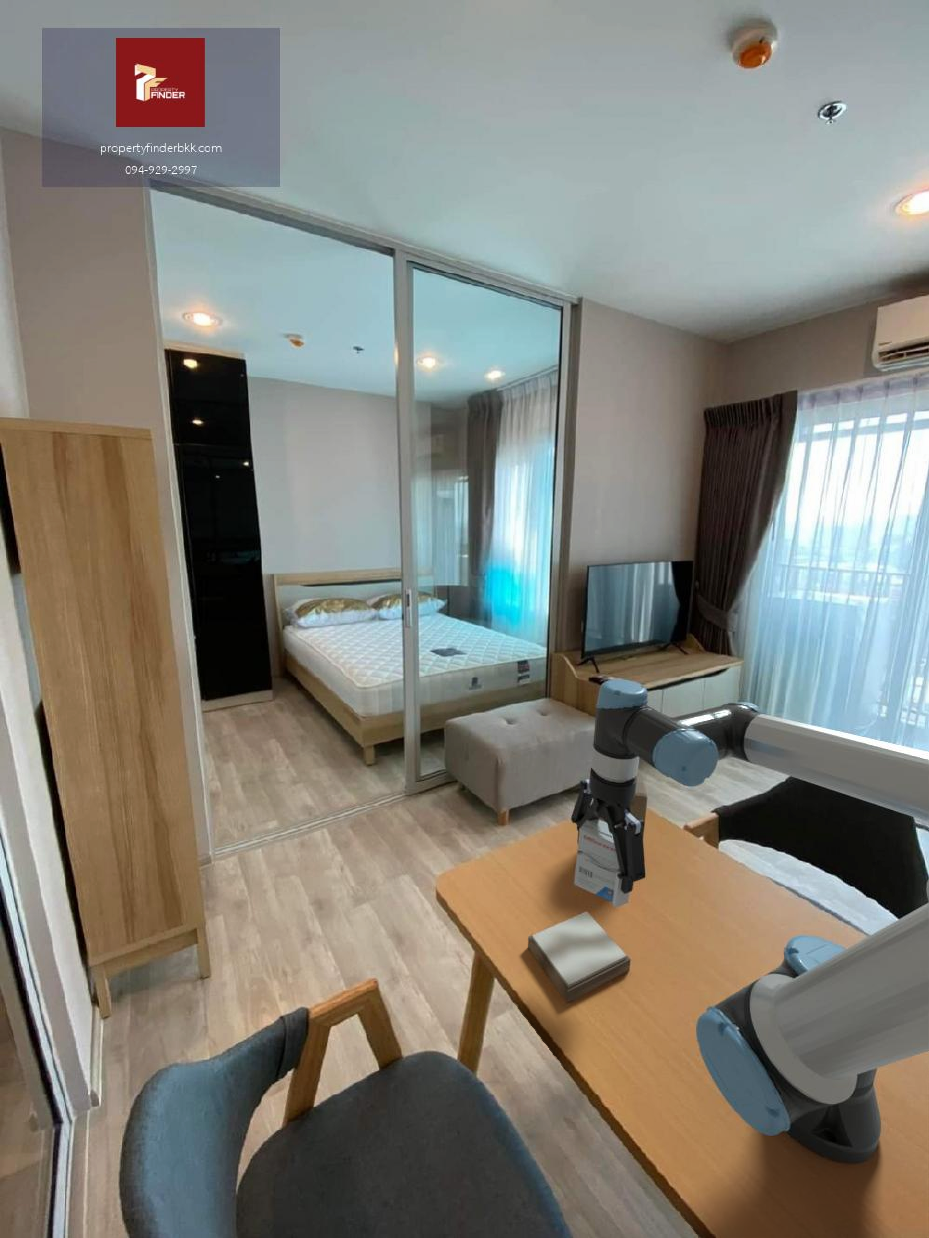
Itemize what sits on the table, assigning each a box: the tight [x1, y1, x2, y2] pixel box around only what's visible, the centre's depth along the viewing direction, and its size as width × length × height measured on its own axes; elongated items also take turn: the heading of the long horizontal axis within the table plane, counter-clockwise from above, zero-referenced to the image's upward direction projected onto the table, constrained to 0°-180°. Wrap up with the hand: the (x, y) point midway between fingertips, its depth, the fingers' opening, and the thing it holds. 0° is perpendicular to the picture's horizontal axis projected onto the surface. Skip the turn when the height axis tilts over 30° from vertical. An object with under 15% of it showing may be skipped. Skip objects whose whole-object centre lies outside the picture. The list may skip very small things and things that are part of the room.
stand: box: [527, 910, 632, 1004], centre depth 91 cm, size 12×14×3 cm
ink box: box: [573, 819, 628, 904], centre depth 87 cm, size 8×5×12 cm, turn 55°
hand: (601, 882), depth 88 cm, fingers closed on ink box, 9 cm apart
